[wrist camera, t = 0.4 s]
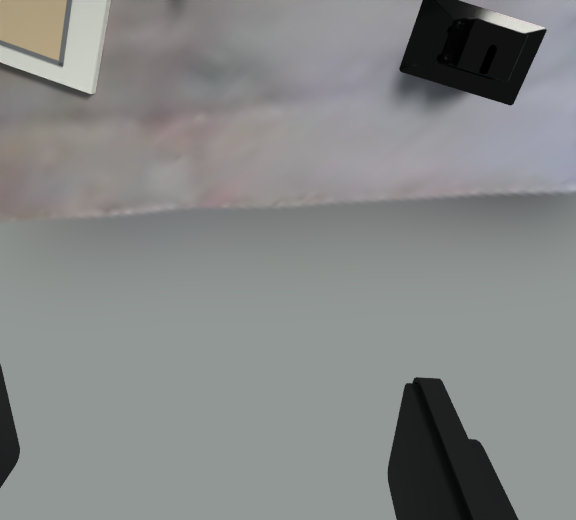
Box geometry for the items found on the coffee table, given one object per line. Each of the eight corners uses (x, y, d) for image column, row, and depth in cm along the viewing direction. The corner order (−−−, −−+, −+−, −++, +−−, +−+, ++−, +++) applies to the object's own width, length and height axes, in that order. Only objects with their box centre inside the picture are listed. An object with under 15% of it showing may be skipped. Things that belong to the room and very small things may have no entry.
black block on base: (371, 76, 35) (382, 79, 31) (407, -35, 32) (424, -47, 28) (523, 122, 36) (553, 131, 32) (571, 19, 33) (611, 15, 29)
